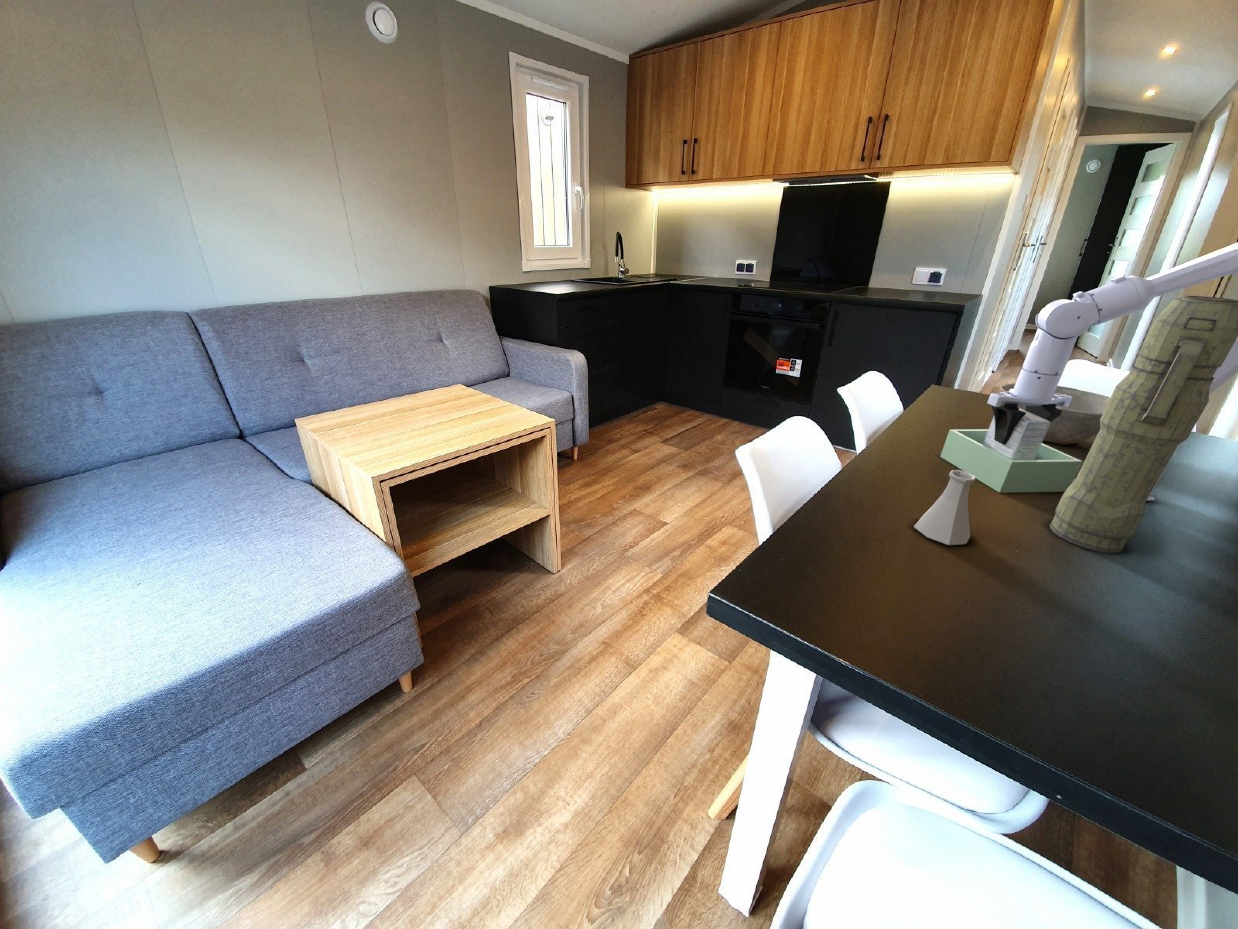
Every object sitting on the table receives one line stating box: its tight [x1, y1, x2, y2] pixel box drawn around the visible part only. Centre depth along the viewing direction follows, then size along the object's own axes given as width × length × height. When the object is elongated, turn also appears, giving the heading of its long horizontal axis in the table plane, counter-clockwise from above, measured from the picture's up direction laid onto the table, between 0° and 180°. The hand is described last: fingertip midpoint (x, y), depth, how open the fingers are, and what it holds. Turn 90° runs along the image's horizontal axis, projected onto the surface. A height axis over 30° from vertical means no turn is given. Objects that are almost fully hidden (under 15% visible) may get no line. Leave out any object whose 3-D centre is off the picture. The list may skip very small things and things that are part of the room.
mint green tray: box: [940, 428, 1083, 494], centre depth 94 cm, size 14×16×6 cm
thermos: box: [1049, 295, 1238, 554], centre depth 68 cm, size 9×12×35 cm
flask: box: [913, 469, 977, 546], centre depth 73 cm, size 7×7×10 cm
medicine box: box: [983, 408, 1050, 460], centre depth 92 cm, size 8×4×9 cm, turn 0°
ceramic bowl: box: [999, 382, 1111, 445], centre depth 112 cm, size 22×23×10 cm
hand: (1012, 442), depth 92 cm, fingers closed on medicine box, 4 cm apart
